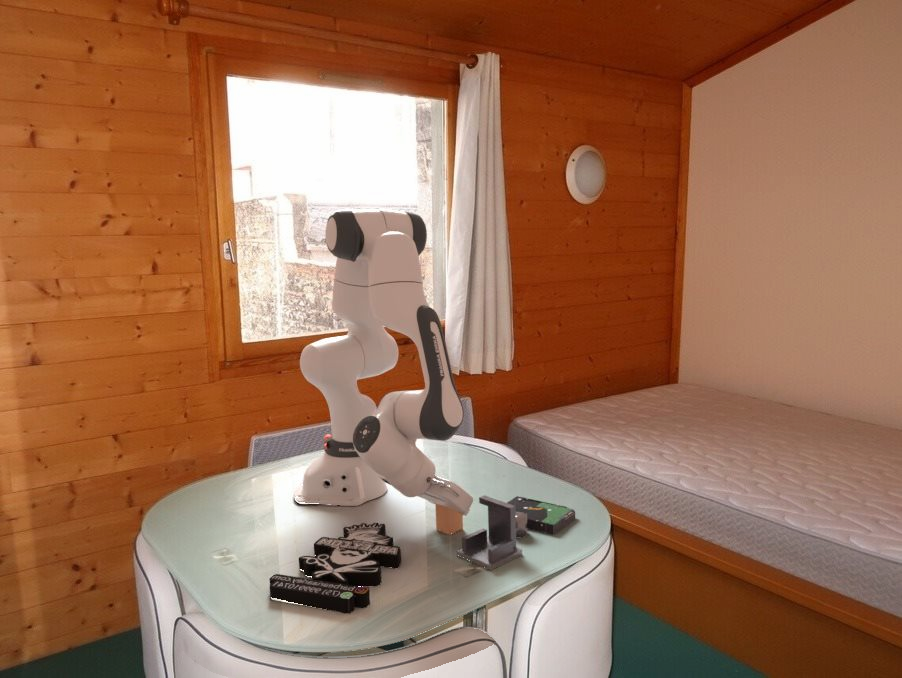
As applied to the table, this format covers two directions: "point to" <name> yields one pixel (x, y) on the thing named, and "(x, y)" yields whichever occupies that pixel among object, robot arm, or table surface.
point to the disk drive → (543, 514)
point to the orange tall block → (448, 519)
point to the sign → (340, 570)
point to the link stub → (521, 524)
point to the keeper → (493, 536)
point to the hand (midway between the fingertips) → (450, 506)
